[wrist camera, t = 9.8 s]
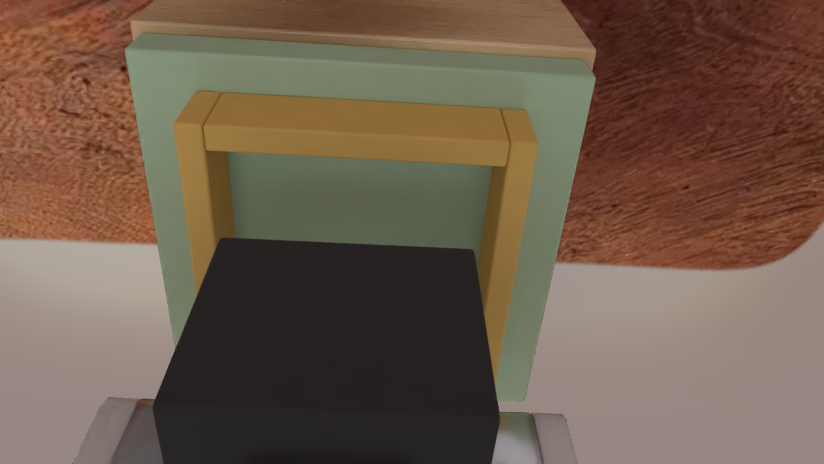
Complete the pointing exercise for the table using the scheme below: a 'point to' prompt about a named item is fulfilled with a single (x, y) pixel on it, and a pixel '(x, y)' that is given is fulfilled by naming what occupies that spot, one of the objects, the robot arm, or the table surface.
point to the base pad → (364, 161)
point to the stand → (381, 24)
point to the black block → (331, 359)
